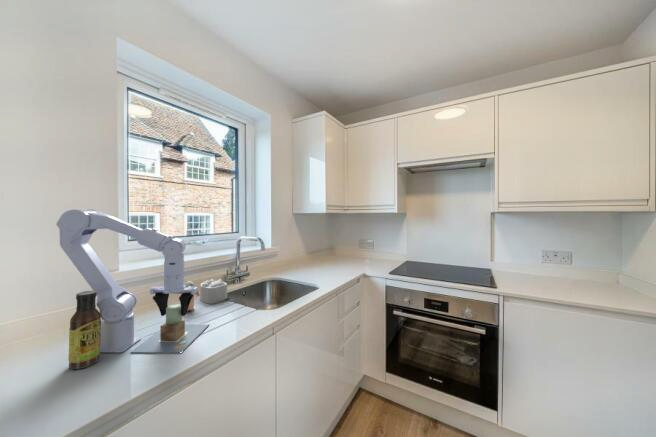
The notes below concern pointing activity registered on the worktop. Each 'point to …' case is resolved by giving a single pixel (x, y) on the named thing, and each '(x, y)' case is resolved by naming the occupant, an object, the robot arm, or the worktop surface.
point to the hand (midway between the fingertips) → (174, 314)
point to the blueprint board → (171, 346)
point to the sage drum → (173, 314)
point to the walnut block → (172, 331)
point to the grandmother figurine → (192, 297)
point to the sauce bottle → (84, 332)
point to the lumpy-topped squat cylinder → (213, 291)
